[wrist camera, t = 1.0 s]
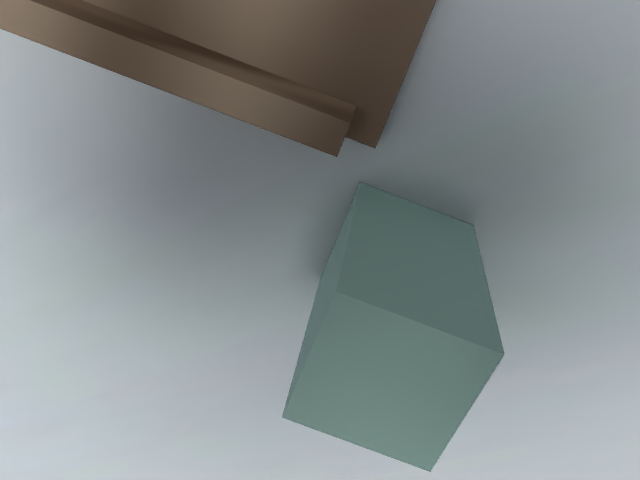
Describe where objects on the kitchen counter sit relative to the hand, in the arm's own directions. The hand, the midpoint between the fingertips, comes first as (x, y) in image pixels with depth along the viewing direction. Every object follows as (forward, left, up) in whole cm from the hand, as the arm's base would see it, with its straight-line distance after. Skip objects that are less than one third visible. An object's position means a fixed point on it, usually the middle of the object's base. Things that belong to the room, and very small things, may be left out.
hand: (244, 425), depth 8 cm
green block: (-3, +3, -12) cm, 13 cm away
